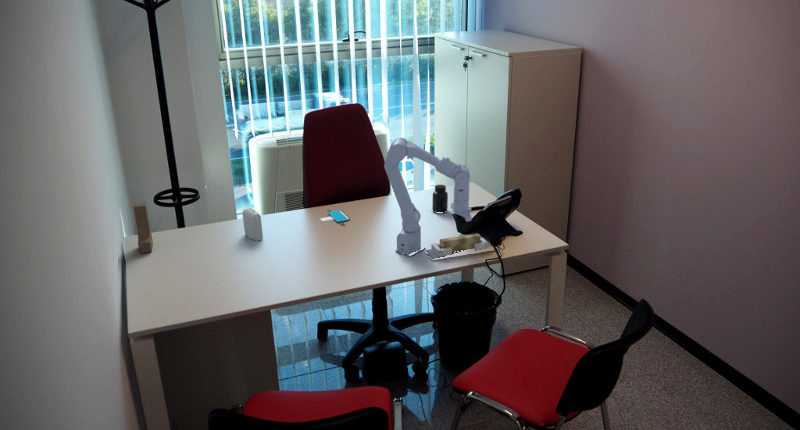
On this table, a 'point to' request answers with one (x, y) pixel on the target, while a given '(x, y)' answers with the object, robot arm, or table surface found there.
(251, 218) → the photo printer
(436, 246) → the cradle
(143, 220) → the wooden block
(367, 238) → the table surface
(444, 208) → the supplement bottle
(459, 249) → the slat
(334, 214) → the phone stand
